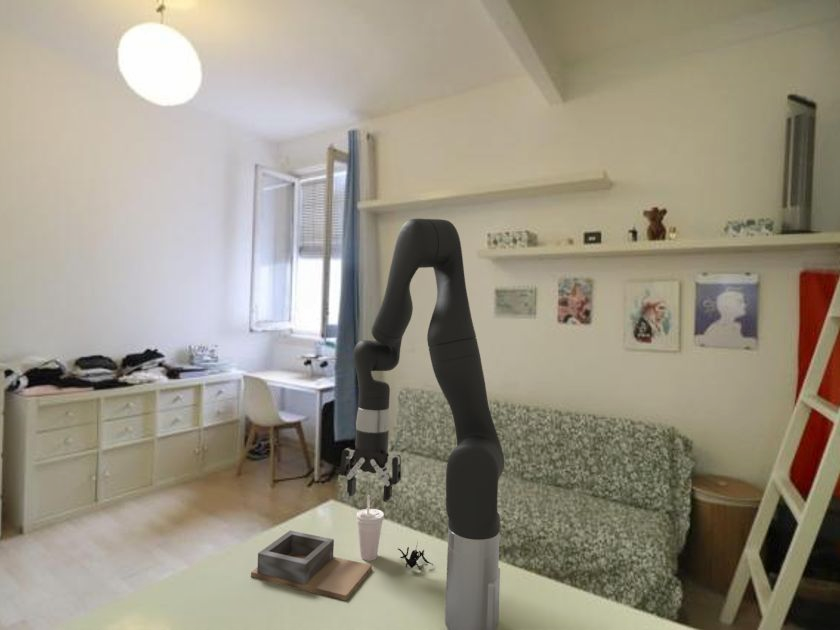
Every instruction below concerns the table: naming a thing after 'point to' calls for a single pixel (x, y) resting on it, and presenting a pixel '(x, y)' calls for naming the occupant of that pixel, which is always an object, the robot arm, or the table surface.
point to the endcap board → (309, 566)
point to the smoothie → (369, 531)
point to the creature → (413, 558)
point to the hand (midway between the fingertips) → (368, 497)
